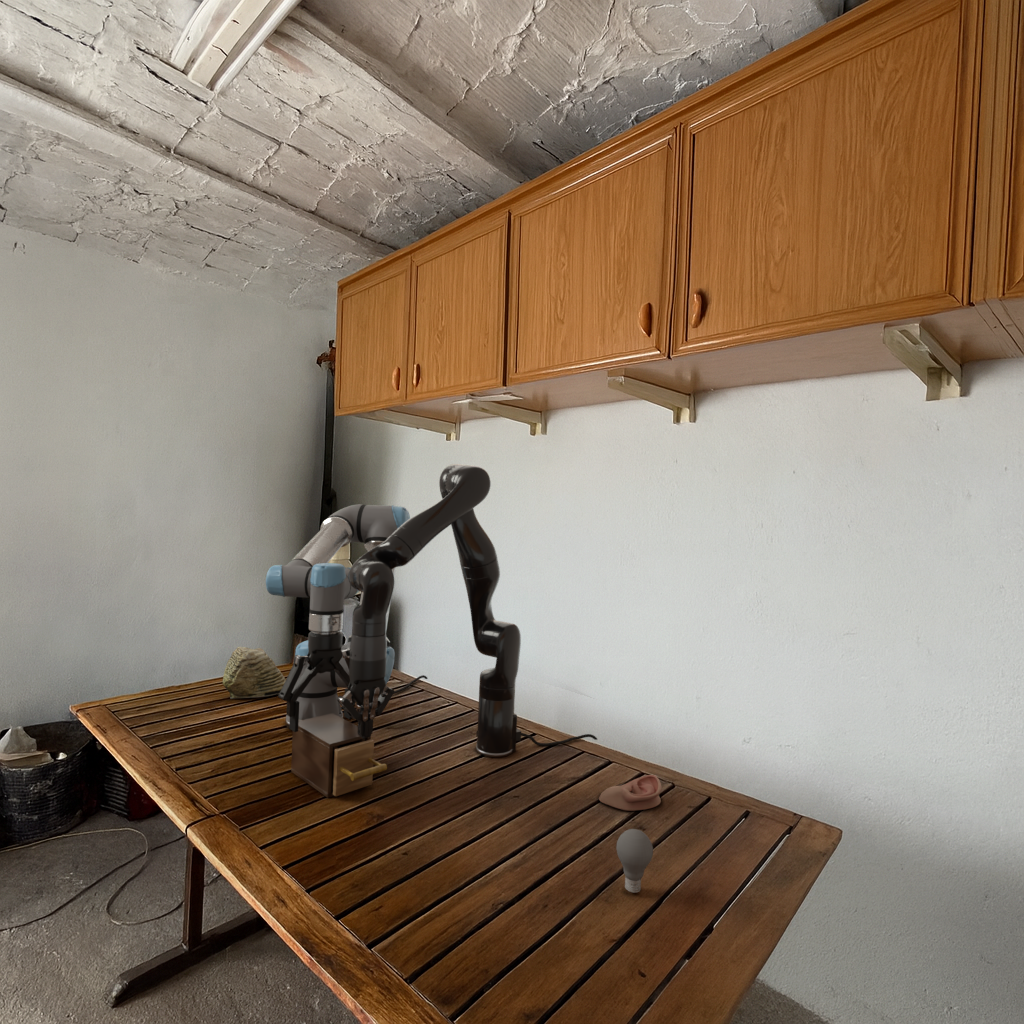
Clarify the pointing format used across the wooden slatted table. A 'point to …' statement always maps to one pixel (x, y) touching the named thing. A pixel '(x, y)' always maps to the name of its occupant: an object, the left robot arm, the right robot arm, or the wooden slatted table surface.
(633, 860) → the light bulb
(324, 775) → the cabinet
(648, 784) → the anatomical model
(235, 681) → the fossil
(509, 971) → the wooden slatted table surface
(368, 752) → the drawer
